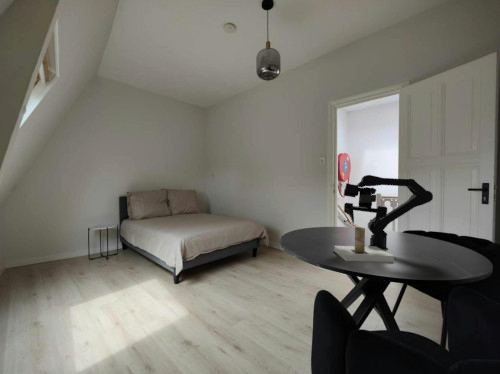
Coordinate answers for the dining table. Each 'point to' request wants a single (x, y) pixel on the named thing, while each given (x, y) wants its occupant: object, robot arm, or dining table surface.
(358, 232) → the oak peg
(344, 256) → the grey socket board
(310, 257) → the dining table surface
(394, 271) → the dining table surface
